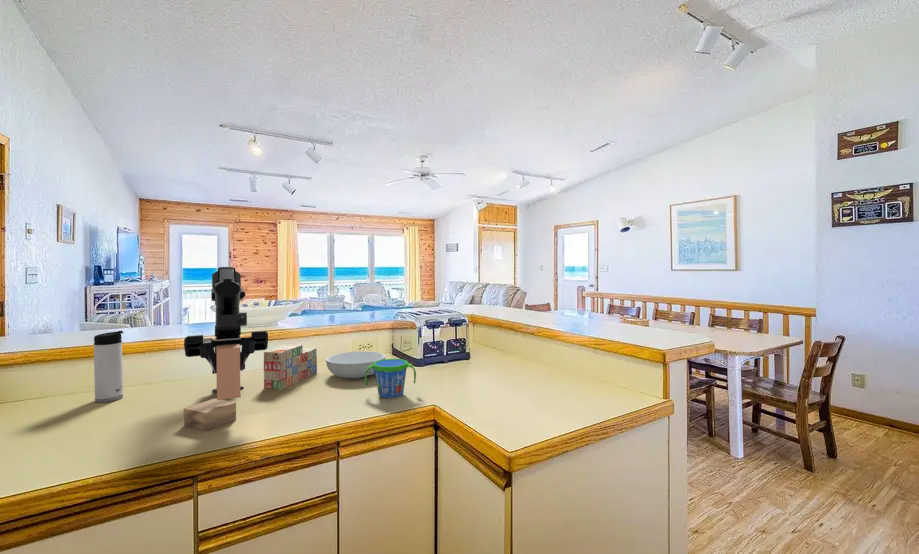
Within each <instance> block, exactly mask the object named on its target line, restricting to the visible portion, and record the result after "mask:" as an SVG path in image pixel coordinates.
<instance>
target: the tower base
mask: <svg viewBox="0 0 919 554" xmlns="http://www.w3.org/2000/svg"><path fill="white" fill-rule="evenodd" d="M234 421H237V411H236V412H235V413H232V414H230V415H227V416H224V417H222V418H219V419H217V420H214V421H211V422H209V423H202V422H198V421H193V420H189V419H184V418H183V427H185V426H186V428H189V427H190V429H193V428H194V430H197V431H201V432H208V431H210V430H213V429H217V428H219V427H221V426H224V425H227V424H229V423H232V422H234Z"/></svg>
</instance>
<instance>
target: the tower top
mask: <svg viewBox="0 0 919 554" xmlns="http://www.w3.org/2000/svg"><path fill="white" fill-rule="evenodd" d="M235 412H236V413H237V401H231V400H227V399H224V400H217V398H211V399H209V400H206V401H205V400H204V401H203V402H199V403H196V404H193V405H190V406H187V407H183V420H184V419H189V420H193V421H198V422H202V423H209V422H211V421H214V420H217V419H219V418H222V417H224V416H227V415H230V414H232V413H235Z"/></svg>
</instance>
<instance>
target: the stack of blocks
mask: <svg viewBox="0 0 919 554" xmlns="http://www.w3.org/2000/svg"><path fill="white" fill-rule="evenodd" d="M317 372H318V356H317V347H303V344H290V343H289V344H284V345H281V346H277V347H276V348H272V349H268V350H264V351H263V388H267V390H268V389H269V390H279V391H280V390H283V389H285V388H287V387H290V386H293V385H294V384H296V383H298V382H300V381H302V380H304V379H307V378H308V377H310V376H313V375H314V374H317Z"/></svg>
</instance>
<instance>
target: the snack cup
mask: <svg viewBox="0 0 919 554" xmlns="http://www.w3.org/2000/svg"><path fill="white" fill-rule="evenodd" d="M370 368H373V369H374V376H375V381H376V388H377V394H378V396H380V397H381V398H384V399H392V398H398V397H401V396H402V395H404V390H405V383H406V375H407V373H406V372H407V370H408V369H407V368H411V369H412V370H413V385H415V384H416V380H417V371H416V368H415V366H413V364H411V363H410V362H409V361H408V360H405V359H402V358H385V359H384V360H379V361H376V362H374V363H373V364H372V365H371V366H369V367H368V369H367V370H366V373H365V377H364V383H365V386H368V385H369V382H368V376H367V372H368V370H369V369H370Z"/></svg>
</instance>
